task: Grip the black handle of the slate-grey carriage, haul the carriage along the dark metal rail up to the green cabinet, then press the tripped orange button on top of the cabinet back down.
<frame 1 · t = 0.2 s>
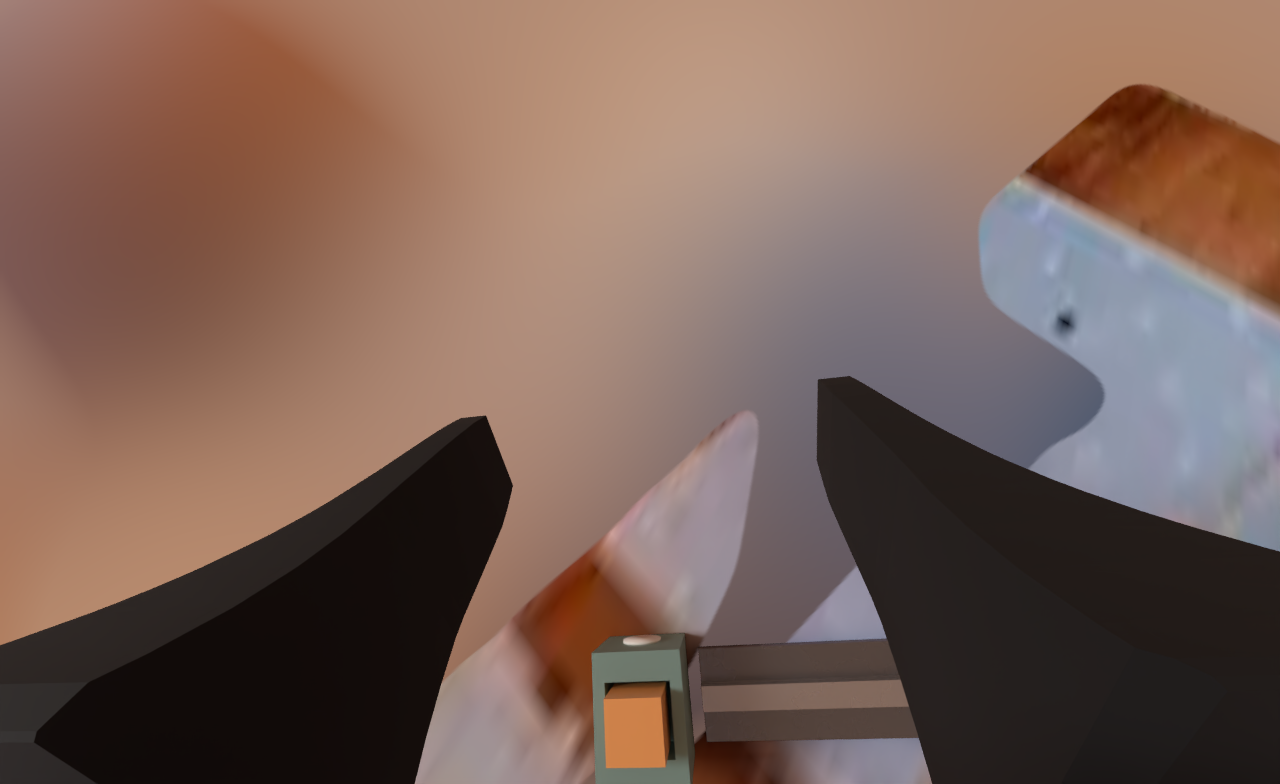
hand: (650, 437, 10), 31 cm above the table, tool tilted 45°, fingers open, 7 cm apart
reset button: (638, 722, 30), point 6 cm above the table, slide at 0.0 cm
rail: (861, 685, 35), on the table
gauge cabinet: (650, 692, 36), on the table
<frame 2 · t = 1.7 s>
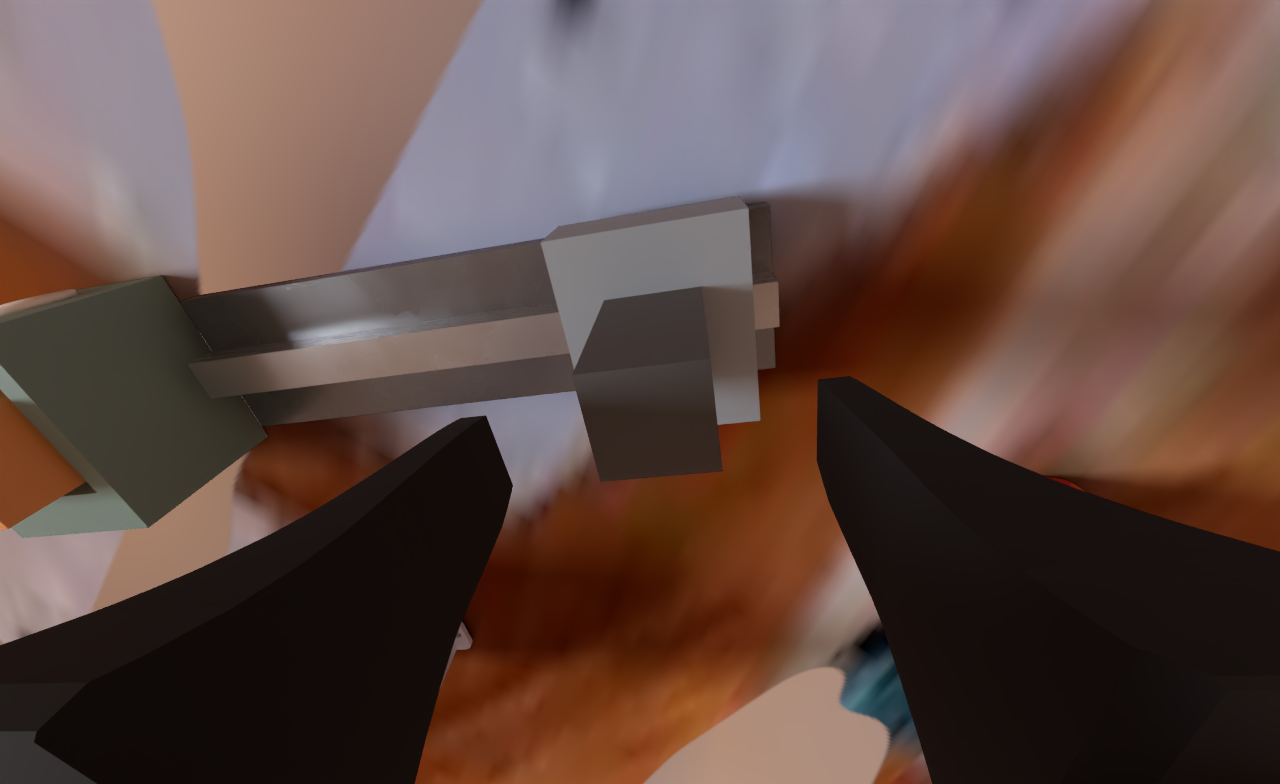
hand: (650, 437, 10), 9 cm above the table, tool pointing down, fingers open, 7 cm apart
rail: (480, 326, 19), on the table
carriage: (657, 355, 14), point 5 cm above the table, slide at 0.0 cm
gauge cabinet: (163, 370, 22), on the table
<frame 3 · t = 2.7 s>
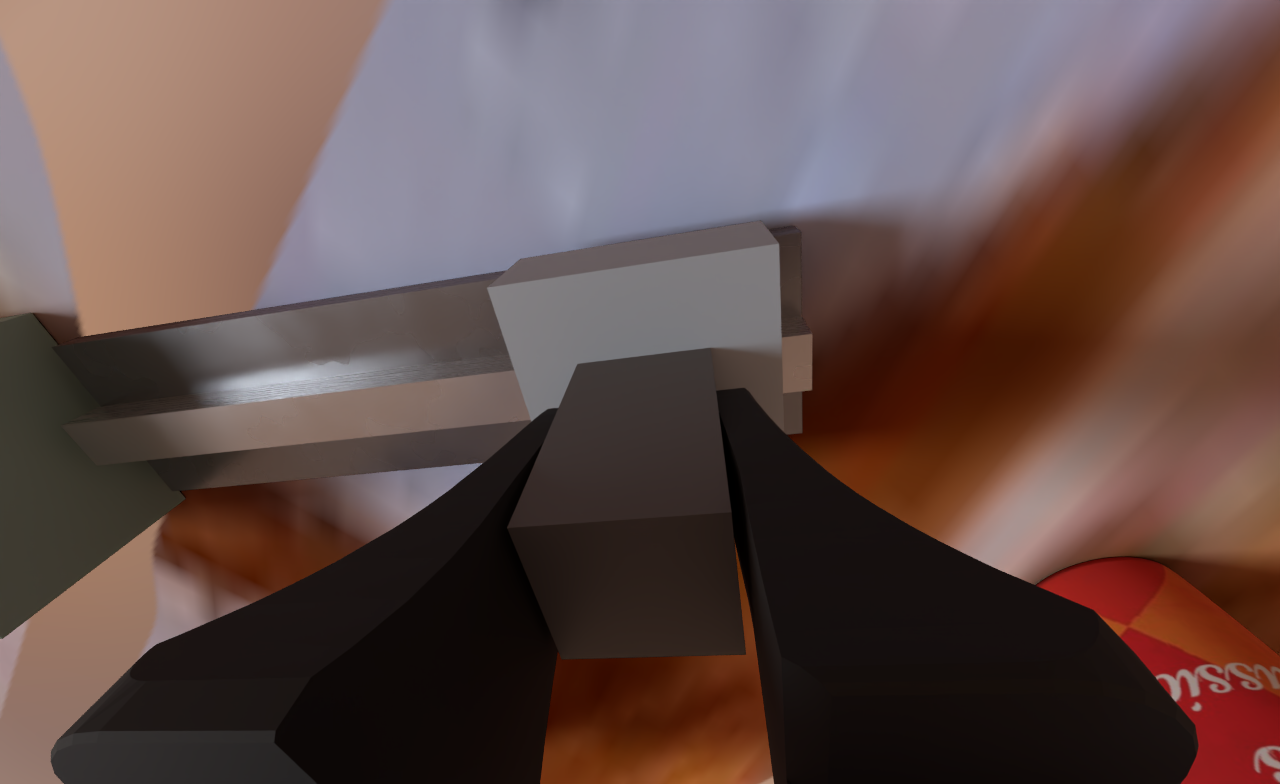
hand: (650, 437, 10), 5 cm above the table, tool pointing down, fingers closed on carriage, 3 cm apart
rail: (431, 377, 15), on the table
paper cup: (1088, 601, 19), on the table
carriage: (649, 445, 10), point 5 cm above the table, slide at 0.0 cm, touching gripper
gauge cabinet: (51, 424, 18), on the table
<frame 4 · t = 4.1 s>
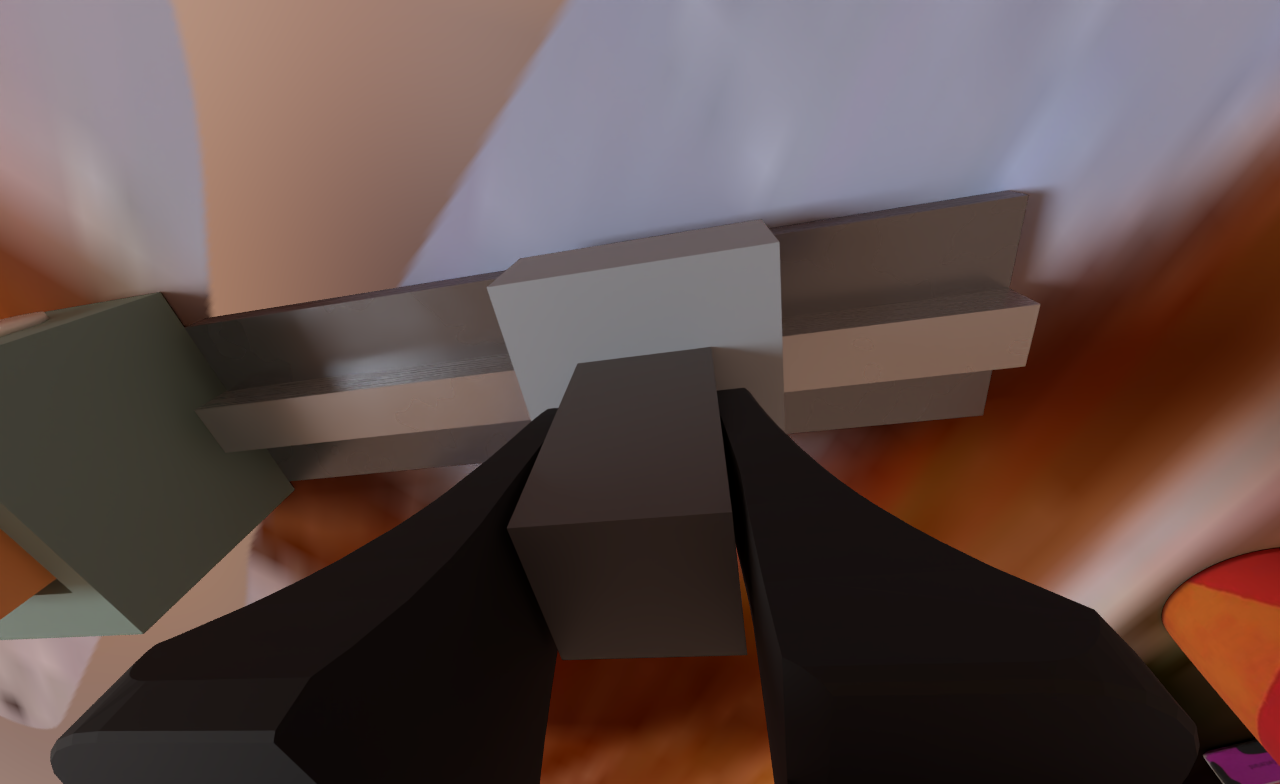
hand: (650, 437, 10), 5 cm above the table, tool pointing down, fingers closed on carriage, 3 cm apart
rail: (580, 358, 15), on the table
paper cup: (1242, 594, 18), on the table
carriage: (650, 444, 10), point 5 cm above the table, slide at 5.0 cm, touching gripper
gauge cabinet: (163, 411, 17), on the table
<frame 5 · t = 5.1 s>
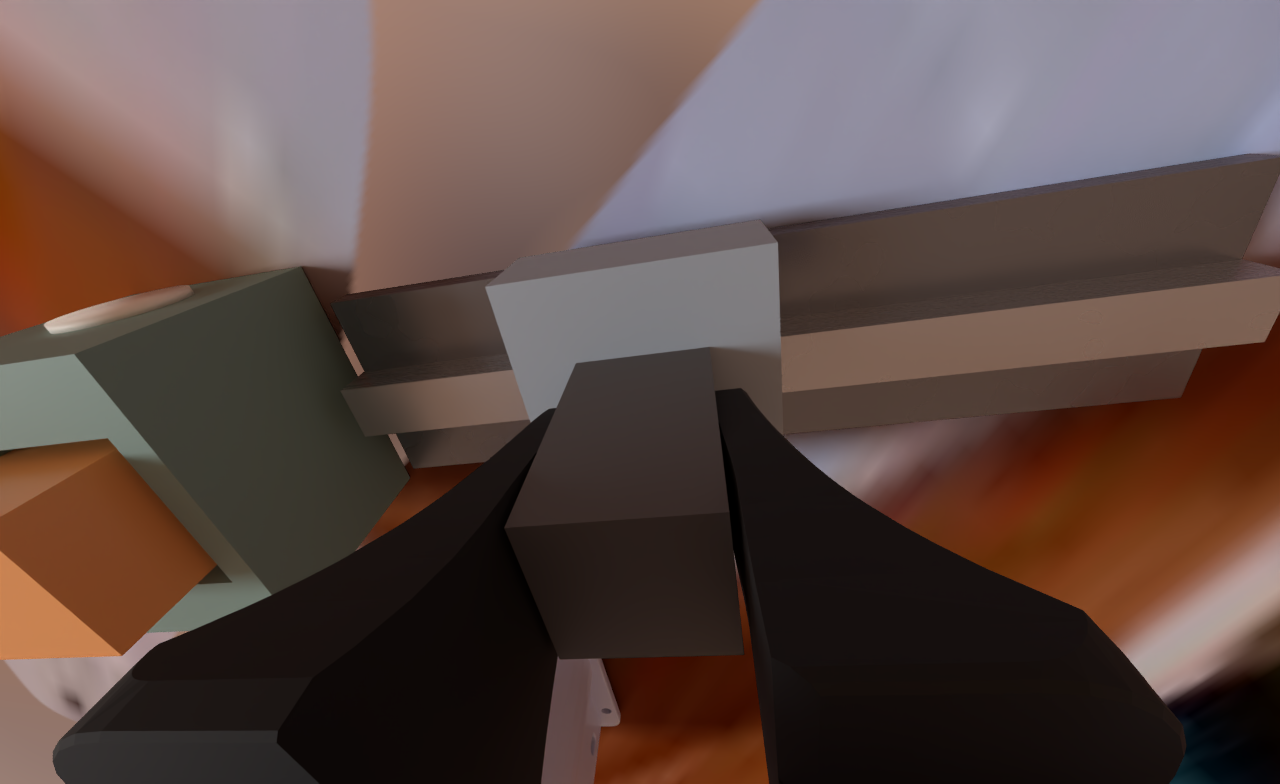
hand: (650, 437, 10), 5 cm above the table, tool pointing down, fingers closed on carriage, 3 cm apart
reset button: (80, 535, 11), point 6 cm above the table, slide at 0.0 cm
rail: (743, 338, 14), on the table
carriage: (648, 444, 10), point 5 cm above the table, slide at 10.0 cm, touching gripper
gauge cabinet: (283, 394, 16), on the table
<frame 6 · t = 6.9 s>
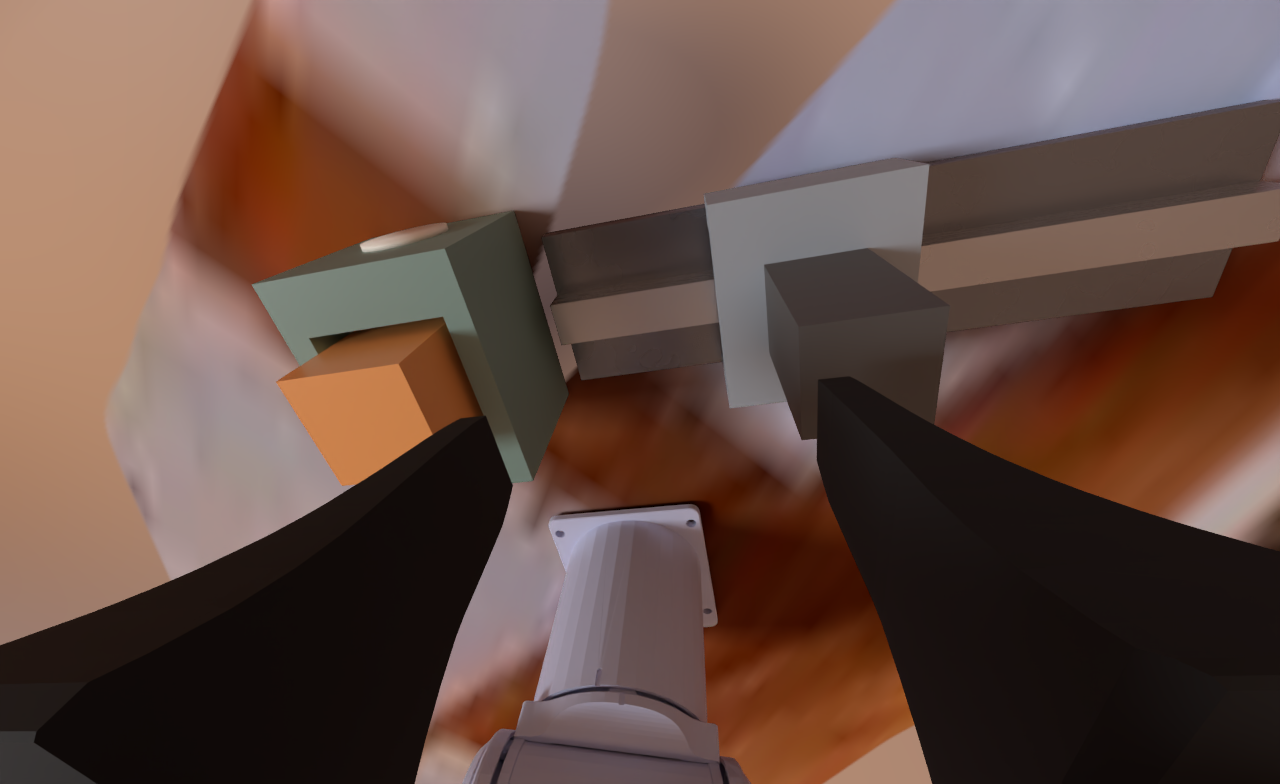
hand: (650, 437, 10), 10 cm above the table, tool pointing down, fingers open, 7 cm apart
reset button: (400, 397, 15), point 6 cm above the table, slide at 0.0 cm
rail: (862, 260, 18), on the table
carriage: (826, 318, 14), point 5 cm above the table, slide at 10.0 cm
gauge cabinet: (476, 321, 20), on the table
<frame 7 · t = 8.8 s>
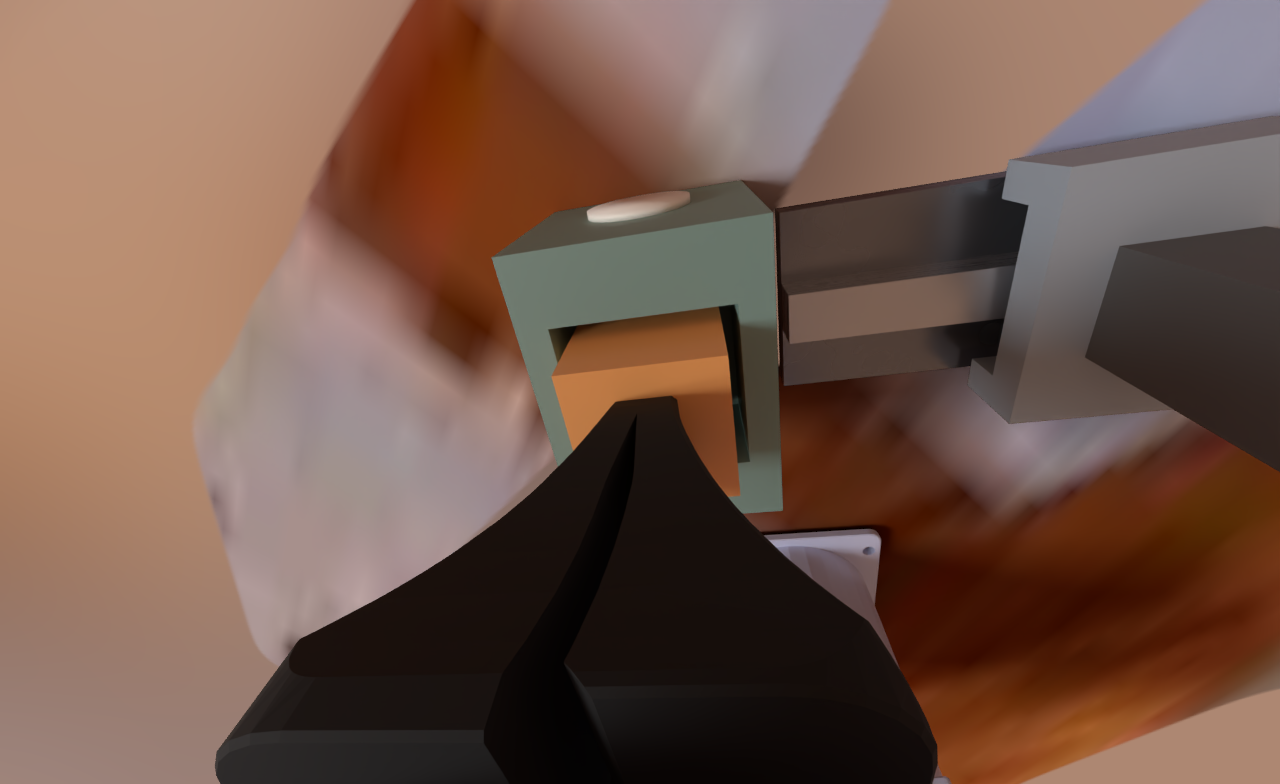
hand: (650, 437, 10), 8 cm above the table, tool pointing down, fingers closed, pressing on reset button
reset button: (655, 398, 12), point 6 cm above the table, slide at 0.4 cm, touching gripper
rail: (1158, 248, 15), on the table
carriage: (1218, 315, 11), point 5 cm above the table, slide at 10.0 cm
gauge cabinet: (663, 314, 17), on the table
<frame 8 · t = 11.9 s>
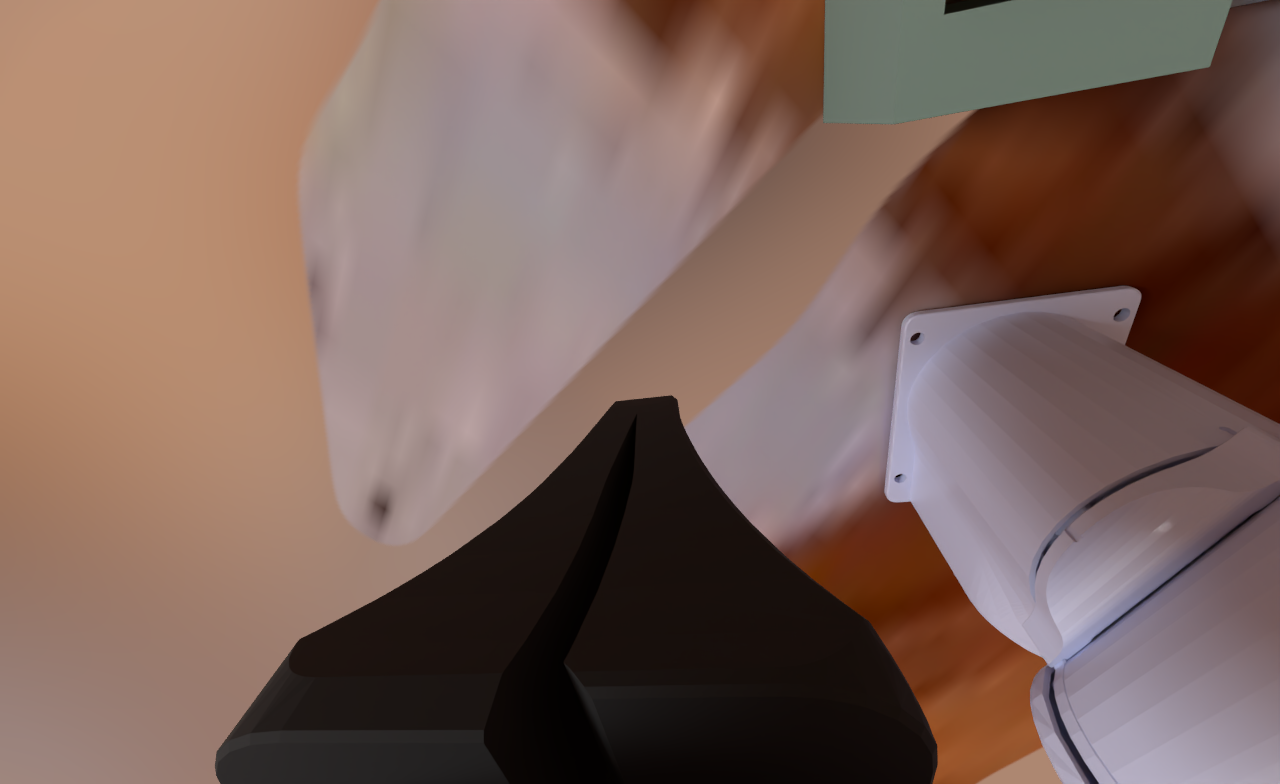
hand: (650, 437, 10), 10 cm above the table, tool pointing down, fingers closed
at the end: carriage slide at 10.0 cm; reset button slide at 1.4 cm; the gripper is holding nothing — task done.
